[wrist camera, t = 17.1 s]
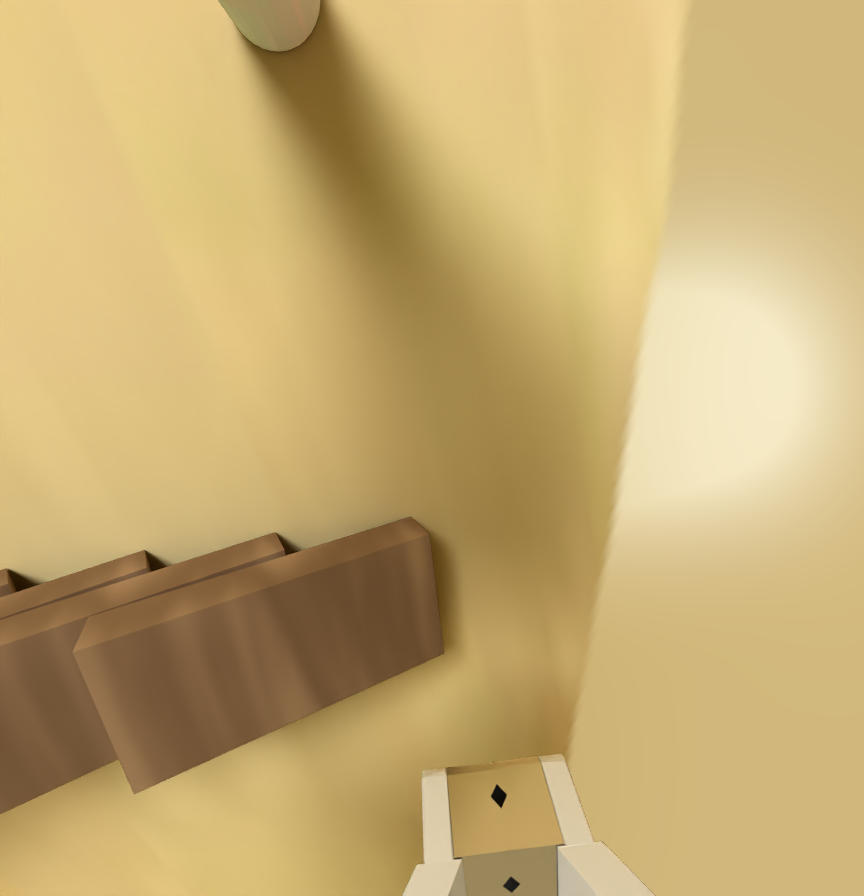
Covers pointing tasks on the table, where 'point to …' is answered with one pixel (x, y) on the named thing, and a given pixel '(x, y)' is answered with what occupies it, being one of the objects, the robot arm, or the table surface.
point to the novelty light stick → (274, 21)
